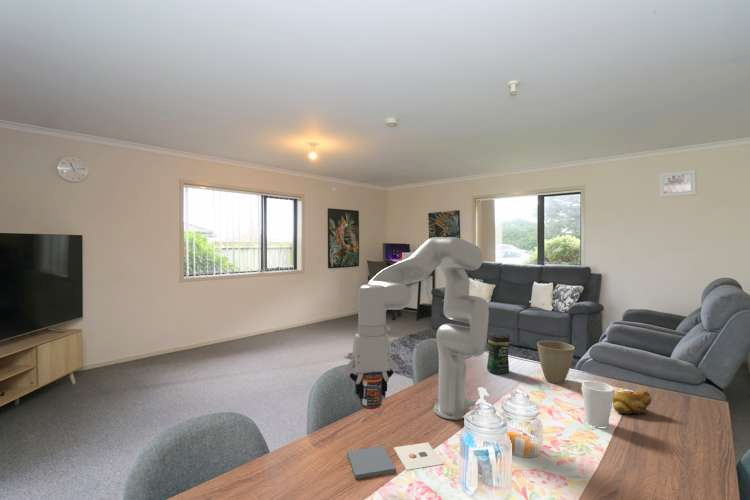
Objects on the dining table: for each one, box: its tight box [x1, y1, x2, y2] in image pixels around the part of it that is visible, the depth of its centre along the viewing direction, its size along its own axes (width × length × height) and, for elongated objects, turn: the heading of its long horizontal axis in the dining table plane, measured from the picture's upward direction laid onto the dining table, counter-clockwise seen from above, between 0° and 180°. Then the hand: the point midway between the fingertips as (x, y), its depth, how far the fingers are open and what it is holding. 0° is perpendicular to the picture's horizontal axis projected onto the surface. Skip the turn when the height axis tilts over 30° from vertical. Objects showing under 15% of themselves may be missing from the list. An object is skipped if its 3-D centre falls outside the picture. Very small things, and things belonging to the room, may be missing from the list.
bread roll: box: [612, 390, 652, 415], centre depth 134 cm, size 13×10×8 cm
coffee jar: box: [486, 331, 511, 375], centre depth 173 cm, size 10×8×19 cm
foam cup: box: [581, 380, 615, 428], centre depth 124 cm, size 10×9×13 cm
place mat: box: [346, 445, 397, 479], centre depth 101 cm, size 11×11×1 cm
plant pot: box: [536, 340, 575, 385], centre depth 162 cm, size 15×15×16 cm
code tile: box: [393, 441, 445, 471], centre depth 104 cm, size 11×11×1 cm
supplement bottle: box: [359, 372, 383, 410], centre depth 100 cm, size 6×6×11 cm
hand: (371, 394), depth 100 cm, fingers closed on supplement bottle, 6 cm apart
